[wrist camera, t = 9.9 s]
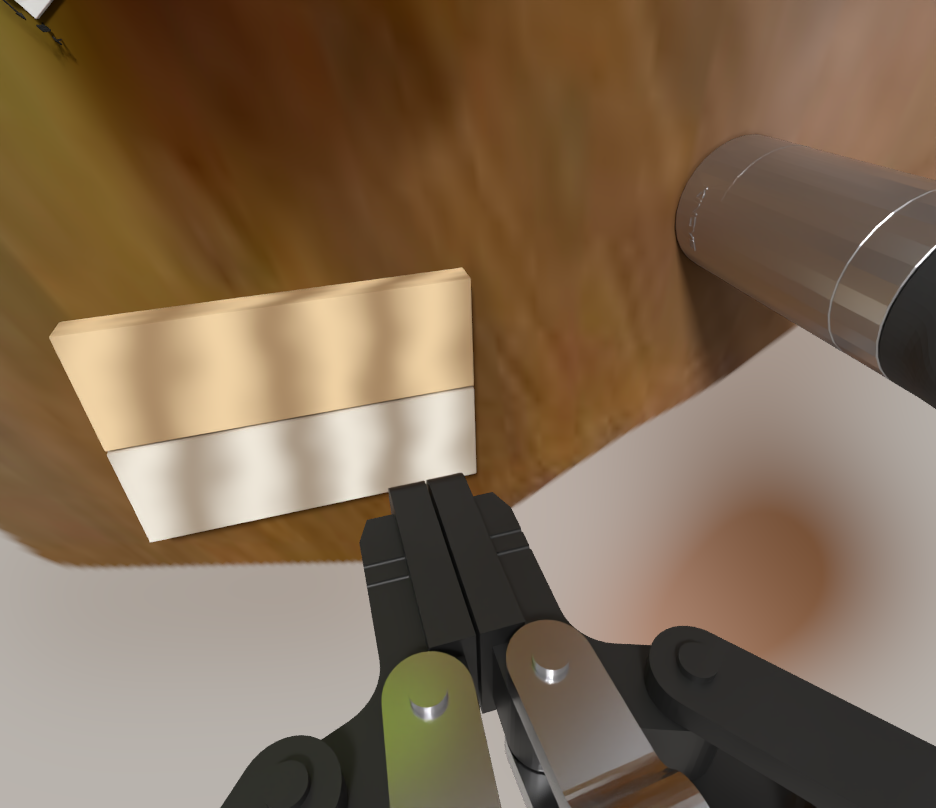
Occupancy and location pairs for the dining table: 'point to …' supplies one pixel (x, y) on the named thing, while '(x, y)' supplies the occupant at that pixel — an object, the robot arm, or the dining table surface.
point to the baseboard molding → (35, 11)
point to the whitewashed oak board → (296, 462)
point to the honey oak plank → (268, 356)
